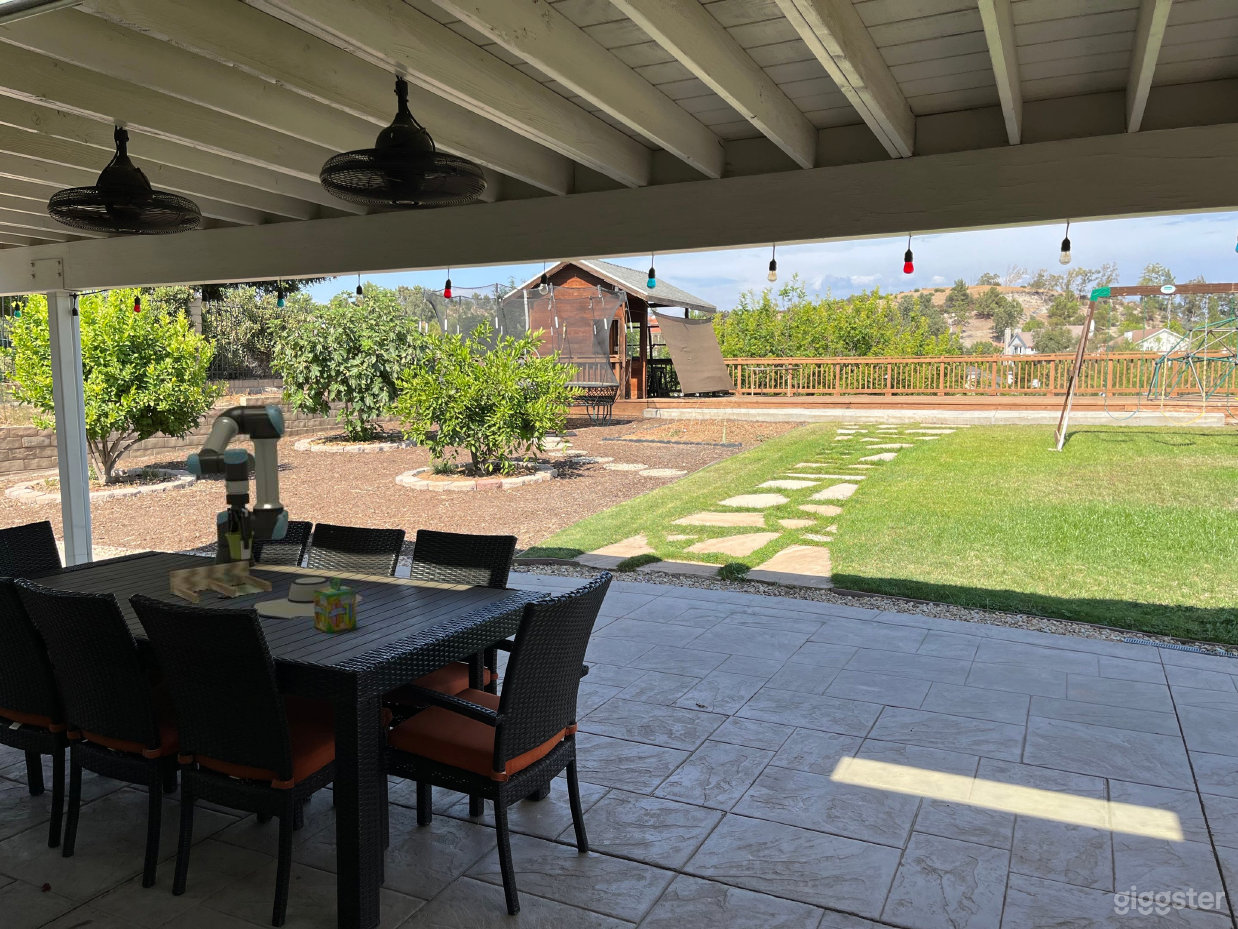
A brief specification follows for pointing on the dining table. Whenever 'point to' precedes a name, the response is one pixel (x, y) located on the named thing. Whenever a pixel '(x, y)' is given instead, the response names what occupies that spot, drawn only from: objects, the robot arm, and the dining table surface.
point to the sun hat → (295, 600)
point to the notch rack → (216, 581)
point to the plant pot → (236, 544)
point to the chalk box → (335, 607)
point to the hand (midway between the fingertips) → (240, 556)
